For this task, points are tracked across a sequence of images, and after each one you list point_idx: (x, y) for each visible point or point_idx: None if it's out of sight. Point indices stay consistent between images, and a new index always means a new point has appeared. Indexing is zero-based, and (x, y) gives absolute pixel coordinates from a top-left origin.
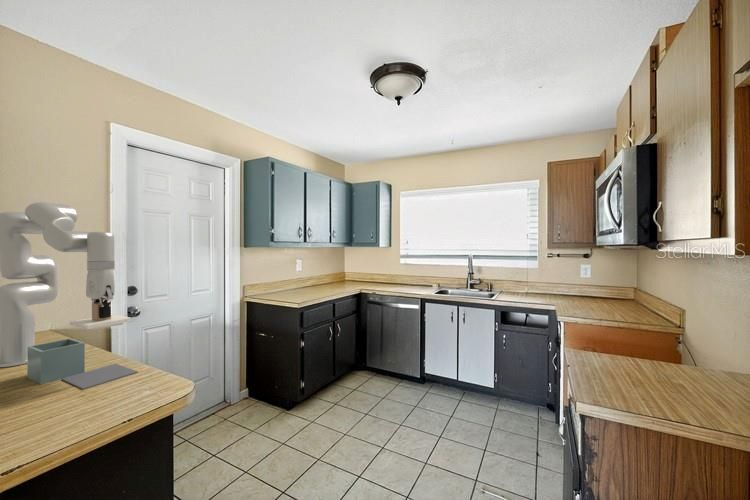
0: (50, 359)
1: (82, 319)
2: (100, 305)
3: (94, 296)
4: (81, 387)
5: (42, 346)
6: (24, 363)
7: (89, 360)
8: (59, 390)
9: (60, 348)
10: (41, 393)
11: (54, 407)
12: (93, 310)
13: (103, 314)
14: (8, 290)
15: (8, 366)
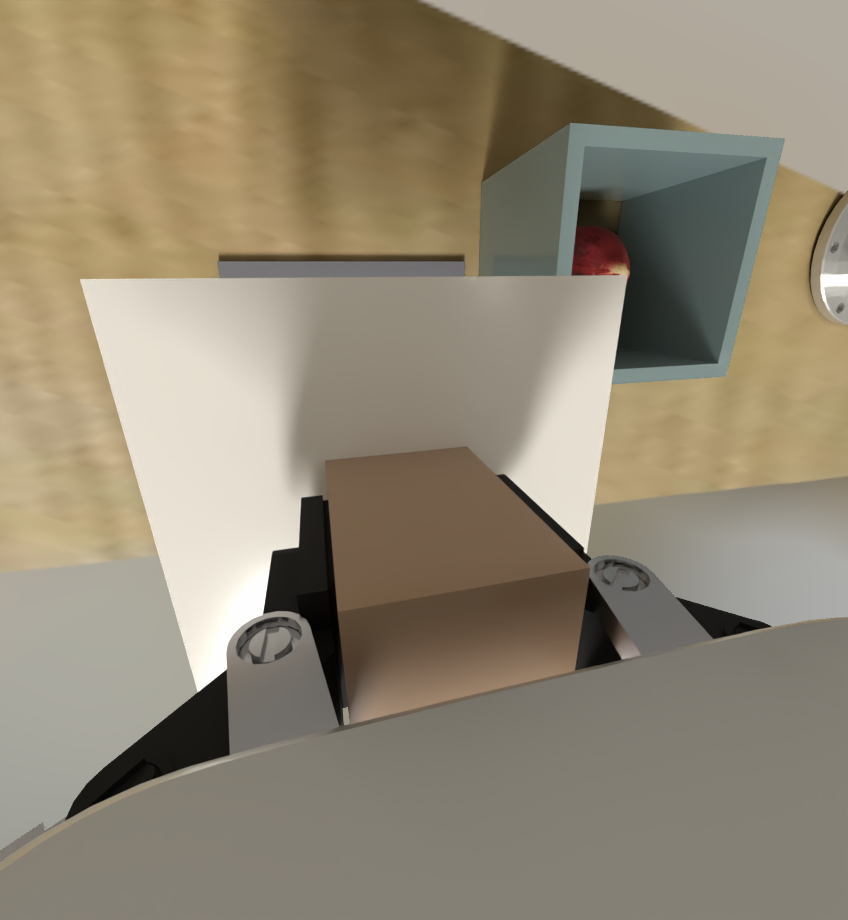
0: (531, 200)
1: (605, 400)
2: (300, 633)
3: (342, 797)
4: (239, 262)
5: (737, 224)
6: (815, 251)
7: (614, 426)
8: (310, 194)
9: (555, 249)
10: (340, 127)
11: (40, 67)
12: (465, 507)
13: (273, 554)
14: None
15: (842, 198)
